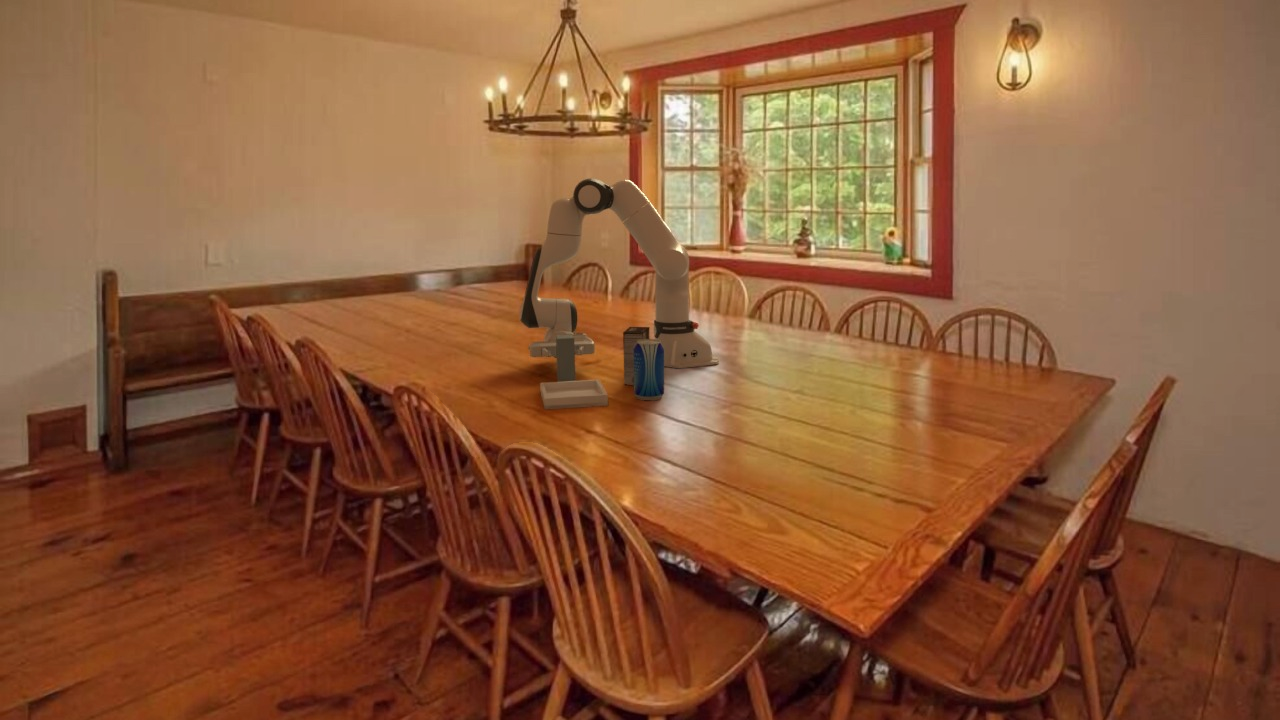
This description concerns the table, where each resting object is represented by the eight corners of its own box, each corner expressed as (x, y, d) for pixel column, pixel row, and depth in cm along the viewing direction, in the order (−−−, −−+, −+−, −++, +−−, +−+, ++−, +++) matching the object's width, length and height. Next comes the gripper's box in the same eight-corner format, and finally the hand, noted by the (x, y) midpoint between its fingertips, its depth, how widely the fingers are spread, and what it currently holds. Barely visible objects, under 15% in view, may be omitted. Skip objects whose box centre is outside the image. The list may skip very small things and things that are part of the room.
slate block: (573, 379, 240) (572, 334, 237) (575, 383, 235) (574, 337, 232) (557, 380, 239) (555, 335, 236) (558, 384, 234) (557, 338, 231)
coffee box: (630, 377, 242) (629, 326, 238) (650, 378, 241) (650, 326, 237) (623, 384, 233) (622, 331, 230) (644, 385, 232) (644, 332, 228)
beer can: (633, 393, 224) (632, 338, 220) (662, 392, 224) (662, 338, 221) (635, 402, 215) (634, 345, 212) (665, 401, 216) (665, 344, 213)
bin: (599, 389, 229) (598, 379, 228) (608, 405, 212) (607, 394, 212) (540, 392, 226) (540, 382, 225) (544, 409, 209) (544, 398, 209)
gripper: (527, 336, 250) (529, 345, 237) (591, 333, 253) (596, 341, 240) (527, 355, 251) (530, 365, 238) (591, 352, 255) (597, 361, 242)
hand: (564, 353), depth 239 cm, fingers open, 8 cm apart
